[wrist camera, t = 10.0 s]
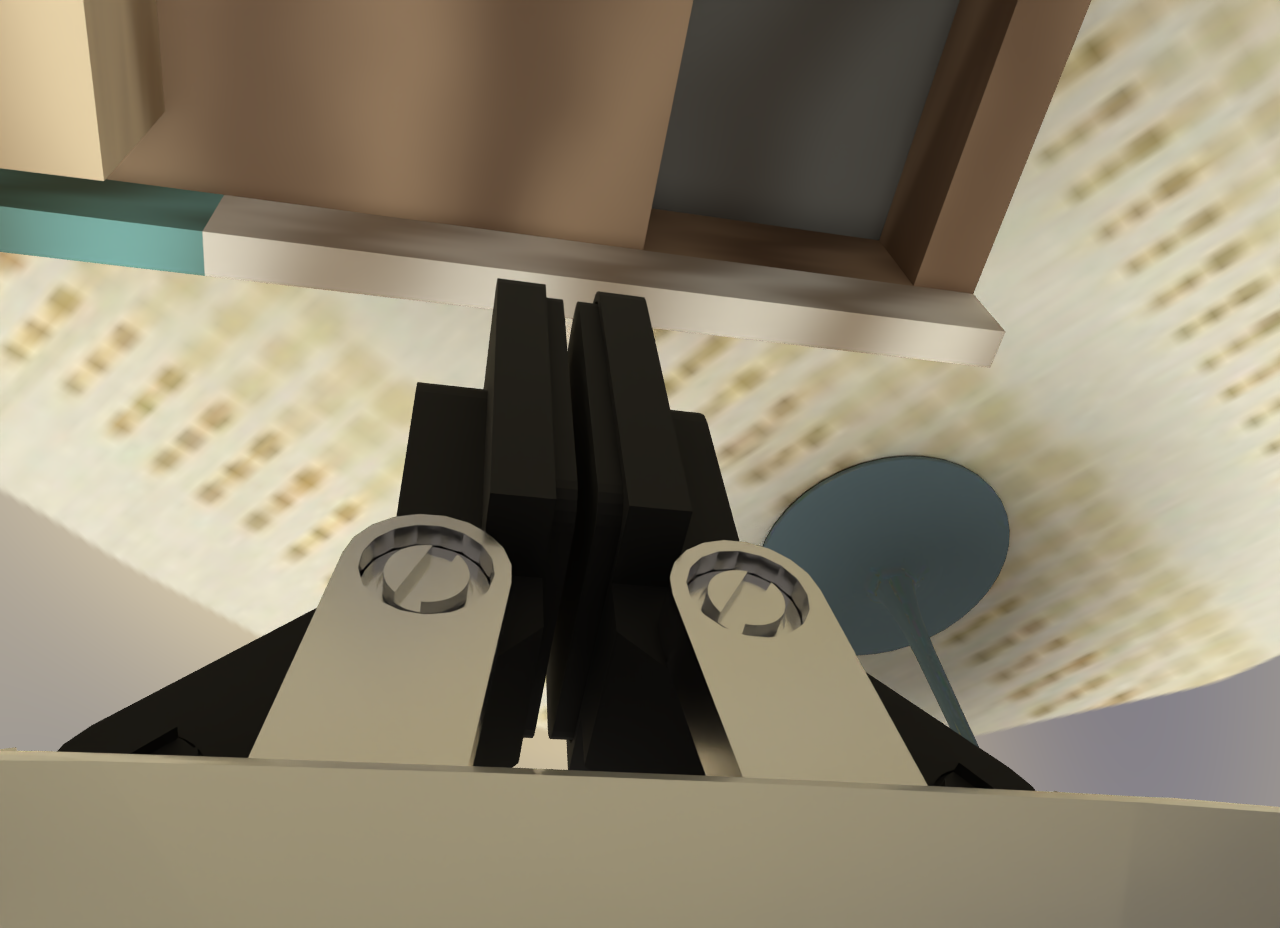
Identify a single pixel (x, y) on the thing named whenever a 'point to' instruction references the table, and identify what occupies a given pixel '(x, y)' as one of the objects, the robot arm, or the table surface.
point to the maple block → (77, 84)
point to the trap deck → (588, 158)
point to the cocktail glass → (899, 555)
